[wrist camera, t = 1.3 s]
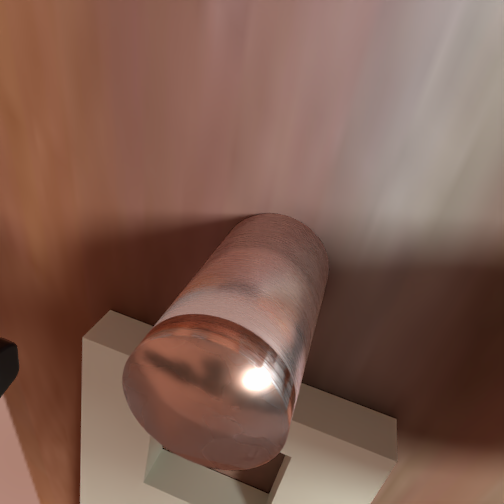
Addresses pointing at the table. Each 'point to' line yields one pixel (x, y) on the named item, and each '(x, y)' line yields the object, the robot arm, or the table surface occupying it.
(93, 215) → the table surface
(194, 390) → the loose cylinder
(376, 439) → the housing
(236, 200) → the table surface
